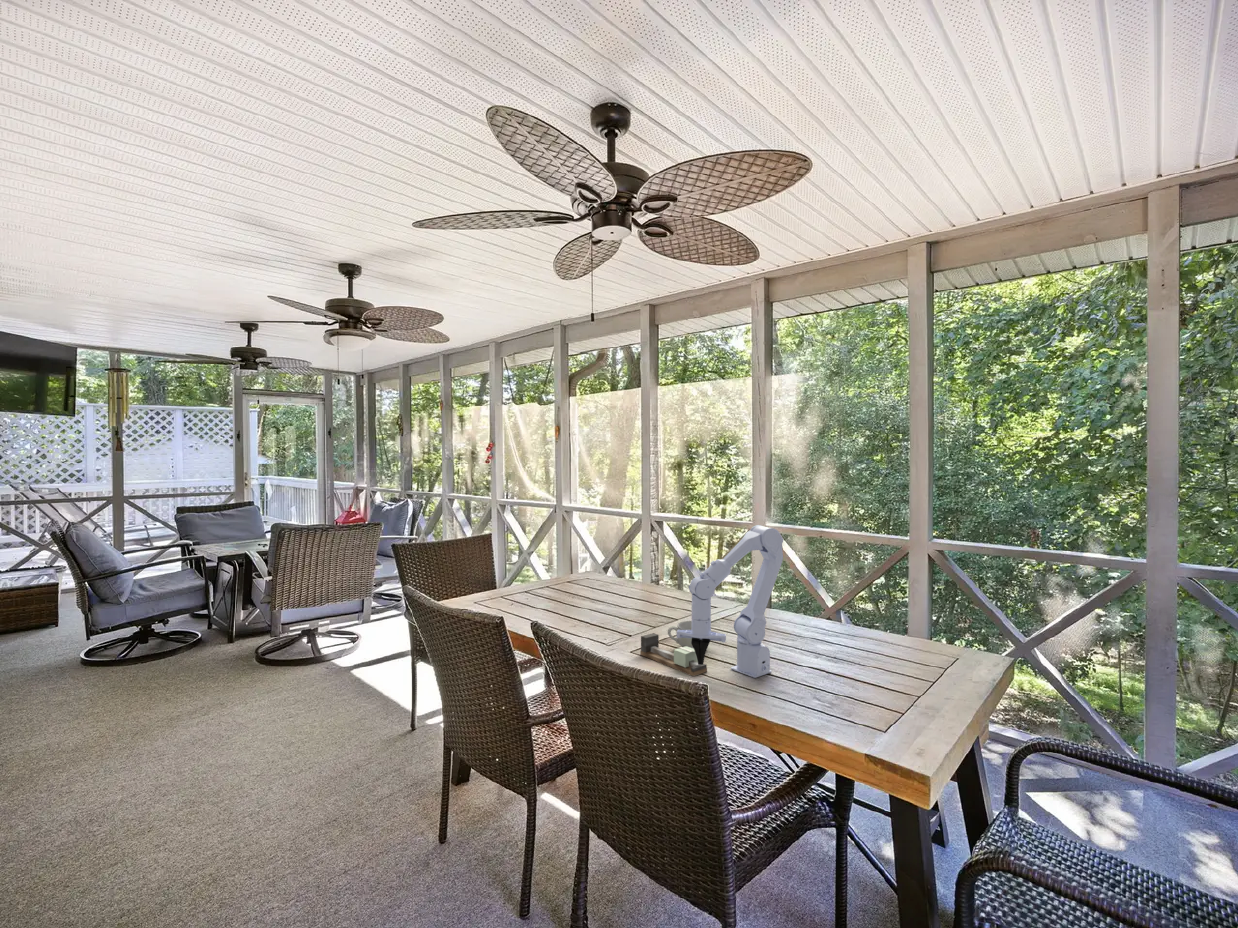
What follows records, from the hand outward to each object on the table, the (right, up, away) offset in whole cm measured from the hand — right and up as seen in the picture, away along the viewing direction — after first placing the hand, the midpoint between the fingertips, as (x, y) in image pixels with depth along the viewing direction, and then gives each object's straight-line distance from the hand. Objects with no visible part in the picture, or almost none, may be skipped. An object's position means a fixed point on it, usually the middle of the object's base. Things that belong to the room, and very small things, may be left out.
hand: (700, 663), depth 173 cm
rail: (-8, -3, +10) cm, 13 cm away
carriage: (-4, -2, +5) cm, 7 cm away
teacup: (-1, -3, +24) cm, 24 cm away
